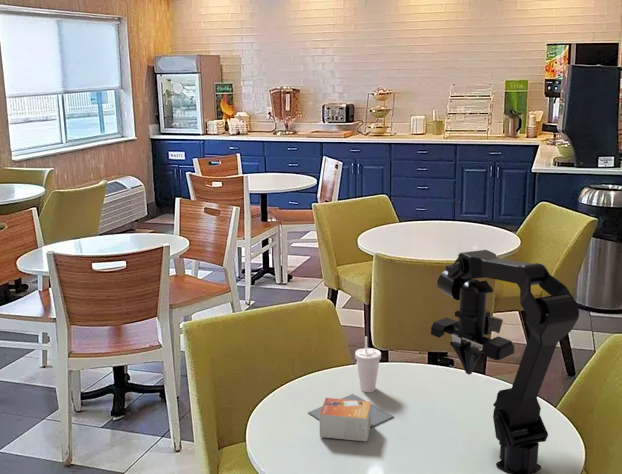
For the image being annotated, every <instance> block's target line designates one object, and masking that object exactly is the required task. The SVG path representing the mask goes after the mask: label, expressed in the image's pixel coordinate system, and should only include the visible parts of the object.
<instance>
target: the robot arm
mask: <svg viewBox="0 0 622 474" xmlns="http://www.w3.org/2000/svg"><path fill="white" fill-rule="evenodd" d="M482 278H486V279H492V280H497V281H502V282H506V283H512V284H516V285H517V286H518V288H519V290H520V293H519V303H520V306H521V307H522V309H523V310H524V312H525V314H526V319H525V323H526V325H527V328H528V330H529V337H528V340H527V342H526V346H525V349H524V351H523V354H522V357H521V360H520V363H519V366H518V369H517V371H516V373H515V374H516V375H515V378H514V380H513V383H512V386H511V387H510V388H505V389H501V390H499V391H498V392H497V394H496V400H495V402H494V403H493V407H494V409H493V414H492V419H493V424H494V425H493V427H494V432H495V438H496V440H497V441H498V444H499V445H500V448H499V449H500V450H499V461H497V462H496V467H498V468H499V469H500V470H501V469H502V470H503V471H505V472H507V473H509V474H535V473H537V472H538V471H540V470H541V469H542V465H541V464H539V463H538V456H539V445H540V443H541V442H542V443H544V442H546V441H547V439H548V436H549V433H548V431H547V428H546V426H545V424H544V421H543V419H542V417H541V409H542V408H541V405H540V403H539V401H538V395H539V393H540V391H541V387H542V384H543V382H544V380H545V377H546V374H547V372H548V368H549V366H550V363H551V361H552V359H553V356H554V352H555V350H556V348H557V344H558V343H559V342H561V340H562V339H563V338H564V337H566V336H567V335H568V334H569V333H570V332H571V331H572V330H573V328H574V327H575V325H576V324H577V322H578V319H579V318H580V310H579V305H578V302H577V301H576V299H575V298H574V296H573V295H572V294H571V292H570V290H569V289H568V288H567V286H566V285H565V284H564V283H562V282H561V281H560V280H558V279H557V278H555V277H554V276H553V275H551V274H550V272H549V270H548V269H547V267H546V266H545V265H544V264H542V263H539V262H533V263H531V262H525V261H521V260H520V261H518V260H513V259H506V258H499V257H498V256H497V254H496V253H494V252H493V251H490V250H487V249H480V250H473V251H464V252H459V253H458V255H457V258H456V260H455V261H454V263H453V264H448V265H445V270H444V271H442V272H441V273H440V275H439V277H438V279H437V283H436V284H437V288H438V289H439V291H441V292H442V293H443V294H445V295H447V296H448V297H450V298H452V299H454V300H456V301H459V302H458V303H459V305H458V310H456V311H454V316H455V317H456V318H457V319H458V321H457V320H454V319H453V318H449V317H444V318H442V319H440V320H439V319H438V320H436V321H433V323H432V324H431V325H430V335H431V336H434V337H436V338H439V339H440V338H442V337H444V336H445V334H449V335H451V337H452V341H450V342H449V346H450V347H452V348H453V350H454V352H455V353H456V355H457V357H458V359H459V361H460V362H461V365H462V368H463V370H464V371H465V373H466V374H467V375H468V376H470V375H471V374H473V372H474V370H475V368H476V366H477V364H478V361H479V359H480V357H481V356H482V354H483V355H484V356H485V357H487V358H490V359H491V360H494V361H500V360H502V359H505V358H507V357H509V356H512V355H513V354H515V344H514V342H513V341H512V340H510V339H506V338H504V337H501V336H500V335H497V336H496V337H494V338H490V337H487V336H489V335H491V334H492V332H495V333H496V334H500V332H501V329H502V325H503V321H504V320H503V319H502V318H499V317H498V316H497V317H496V316H493V315H491V313H490V311H488V310H487V304H488V302H487V299H488V294H492V293H493V292H494V289H493V287H492V286H491V285H490V284H489V282H488V281H487V280H482V281H481V280H479V279H482ZM537 285H538V286H539V287H540V288H541V289H542V290H543V291H545V292H546V293H548V295H547V296H542V297H536V298H535V296H534V295H533V293H532V286H537Z"/></svg>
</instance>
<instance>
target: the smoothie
mask: <svg viewBox="0 0 622 474" xmlns="http://www.w3.org/2000/svg"><path fill="white" fill-rule="evenodd" d="M354 356H355V357H354V358H355V359H356V365H357V372H358V379H359V388H360V391H361V392H363V393H373V392H375V390H376V385H377V378H378V373H379V365H380V360H381V359H382V352H381V351H380V350H378V349H376V348H372V347H368V336H364V348H359V349H357V350H355V355H354Z"/></svg>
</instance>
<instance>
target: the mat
mask: <svg viewBox="0 0 622 474" xmlns="http://www.w3.org/2000/svg"><path fill="white" fill-rule="evenodd" d="M341 399H346V400H357V401H366V400H365V399H363V398H361V397H359V396H358V395H356V394H354V393H352V394H349V395H346V396H344V397H342V398H341ZM321 409H322V406H320V407H318V408H314V409H313V410H310V411H308V412H307V414H308V415H310V416H312V417H313V418H314V419H317V420H318V421H320V419H319V417H320V412H321ZM393 418H395V415H392V414H391V413H390V412H388V411H386V410H384V409H381V407H378V406H377V405H375V404H372V405H371V426H370V429H372V428H375V427H376V426H379V425H380V424H383V423H384V422H387V421H389V420H391V419H393Z"/></svg>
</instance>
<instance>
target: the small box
mask: <svg viewBox="0 0 622 474" xmlns="http://www.w3.org/2000/svg"><path fill="white" fill-rule="evenodd" d="M372 403H373V402H372V401H368V400H365V401H357V400H346V399H342V398H335V397H334V398H333V397H325V399H324V402H323V404H322V406H321V407H322V409H321V412H320V417H319V419H320V420H319V438H325V439H326V438H327V439H337V440H347V441H349V440H350V441H358V442H368V439H369V435H370V431H371V430H370V429H371V428H370V426H371V405H372Z"/></svg>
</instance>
